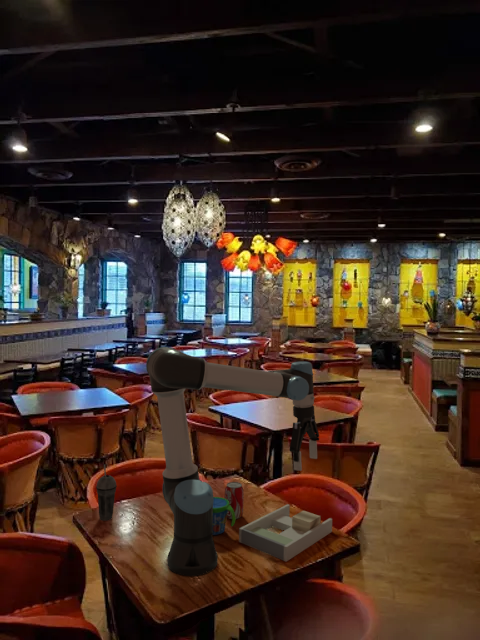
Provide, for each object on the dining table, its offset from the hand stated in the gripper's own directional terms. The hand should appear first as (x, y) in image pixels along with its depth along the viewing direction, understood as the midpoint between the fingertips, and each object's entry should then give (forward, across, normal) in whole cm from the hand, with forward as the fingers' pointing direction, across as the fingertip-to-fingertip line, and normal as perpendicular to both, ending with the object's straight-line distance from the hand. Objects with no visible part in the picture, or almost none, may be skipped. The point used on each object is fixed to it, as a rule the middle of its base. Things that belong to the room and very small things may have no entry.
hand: (305, 464), depth 176 cm
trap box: (+22, -13, +2) cm, 25 cm away
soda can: (+21, -9, +26) cm, 35 cm away
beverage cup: (+18, -37, +64) cm, 75 cm away
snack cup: (+20, -23, +25) cm, 40 cm away
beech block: (+20, -8, -3) cm, 21 cm away
